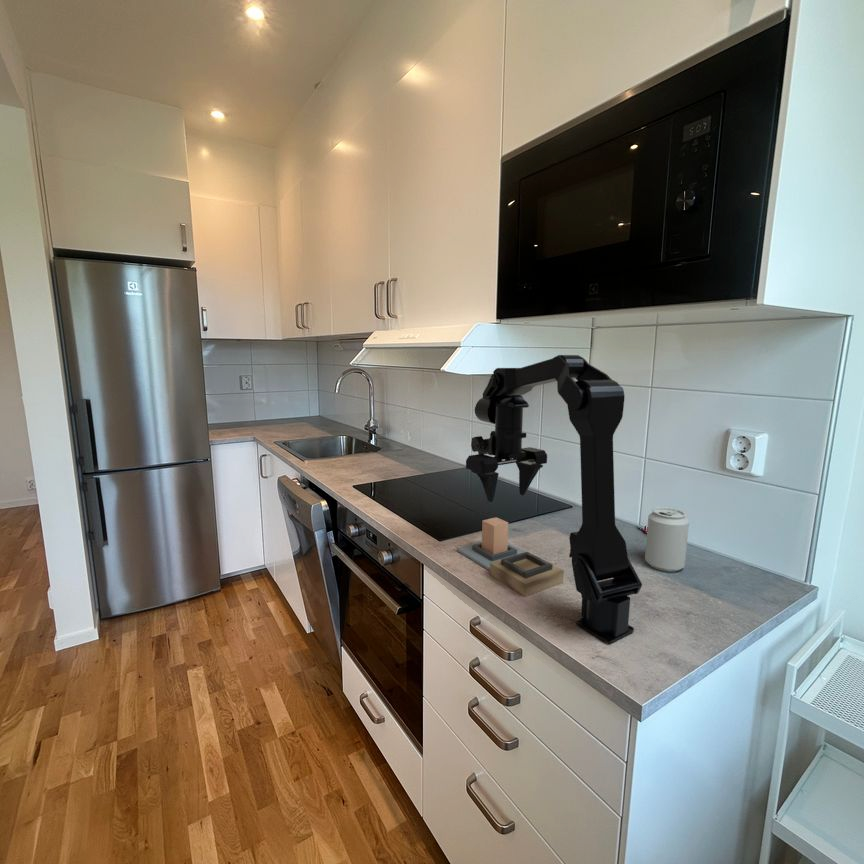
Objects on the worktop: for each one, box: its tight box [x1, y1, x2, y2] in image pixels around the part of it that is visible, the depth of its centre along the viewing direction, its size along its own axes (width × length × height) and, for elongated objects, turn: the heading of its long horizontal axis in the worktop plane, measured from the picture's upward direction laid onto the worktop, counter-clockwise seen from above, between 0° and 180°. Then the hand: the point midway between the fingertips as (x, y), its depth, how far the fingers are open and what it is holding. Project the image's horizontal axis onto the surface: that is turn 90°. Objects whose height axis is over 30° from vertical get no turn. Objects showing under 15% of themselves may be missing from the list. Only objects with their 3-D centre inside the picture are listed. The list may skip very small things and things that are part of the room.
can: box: [644, 506, 690, 573], centre depth 95 cm, size 8×8×12 cm
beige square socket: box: [489, 551, 565, 597], centre depth 89 cm, size 10×10×4 cm
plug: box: [481, 517, 509, 555], centre depth 100 cm, size 4×4×7 cm
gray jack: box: [456, 541, 527, 572], centre depth 100 cm, size 12×12×2 cm
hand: (506, 498), depth 99 cm, fingers open, 9 cm apart
